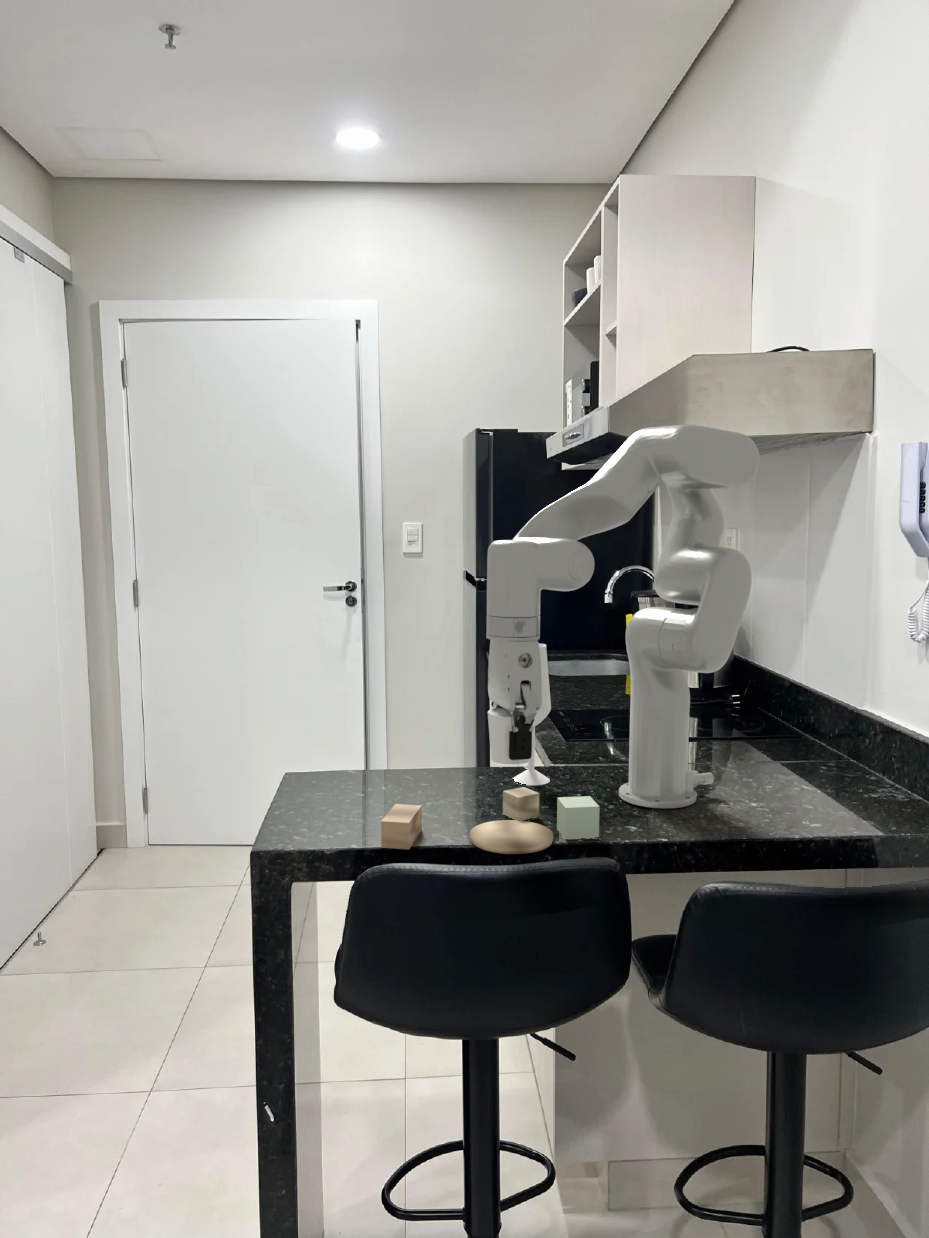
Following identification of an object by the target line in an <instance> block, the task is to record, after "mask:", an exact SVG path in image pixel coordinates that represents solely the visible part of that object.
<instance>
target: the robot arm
mask: <svg viewBox="0 0 929 1238" xmlns="http://www.w3.org/2000/svg"><path fill="white" fill-rule="evenodd" d="M760 458H761V457H760V452H759V448H758V447H757V445H756V443H755V441H753V439H752V438H751V437H749V436H748V435H745V434H744V433H741V432H736V431H731V430H726V429H720V428H715V427H714V428H713V427H710V426H703V425H698V424H697V425H696V424H675V425H662V426H651V427H650V426H649V427H646V428H645V427H644V428H642V429H639V430H637V431H636V432H633V433H632V434H631V435H630V436H629V437H628V438H627V439H626V440H625V441H624V442H623V444H622V445H620V447H619V448H618V449H617V450H616V452H614V453H613V454H612V455H611V457H610V458H609V459H608V460H607V461H606V462H605V463H604V465H603V466H602V467H600V469H599V470H598V471H597V472H596V473H595V474H594V475H593V477H591V478H590V480H589V481H587V482H586V483H585V484H583V485H582V486H579V487H578V488H576V489H574V490H573V491H571V492H569V493H567V494H566V495H564V496H562V497H561V498H559V499H558V500H556V501H554V502H552V503H550V504H549V505H546V507H544V508H543V509H541V510H540V511H538V512H537V514H536V513H535V515H534V516H532V518H530V519H529V520H528V521H527V523H525V525H524V526H522V528H520V530H519V531H518V532H517V533H516V535H515V536H514V537H513V538H512V539H501V540H500V539H499V540H493V542H491V543H490V545H488V547H487V559H486V560H487V561H486V563H487V565H486V567H487V569H486V571H487V573H486V574H487V575H486V634H485V635H486V637H485V638H486V639H487V640H490V642H489V650H488V651H489V653H488V665H487V667H488V668H487V691H488V692H487V693H488V698H489V700H490V701H491V704H490V705H491V708H492V709H495V708H505V709H506V710H508V711H510V717H511V726H512V731H509V758H510V759H511V760H522V759H530V758H531V757H532V731H533V722H534V718H535V716H536V713H537V710H539V709H540V708H541V706H542V679H541V660H540V651H539V644H540V643H539V640H540V637H541V591H542V590H549V591H557V592H570V591H576V590H578V589H580V588H582V587H584V586H585V585H586V584H587V583H588V582H590V580H591V578H592V576H593V574H594V570H595V558H594V555H593V552H592V551H591V550H590V549H589V548H588V547H587V546H586V545H585V544H584V543H582V542H580V541H579V540H581V539H583V538H587V537H590V536H593V535H596V534H600V533H604V532H607V531H610V530H612V529H616V528H617V527H620V526H623V525H625V524H627V523H628V522H629V521H631V519H633V517H634V516H635V515H636V513H637V512H638V511H639V510H640V509H641V507H643V505H644V504H645V503H646V502H647V501H648V499H649V498H650V497H651V496H652V495H653V493H654V492H655V491H656V490H657V489H658V488H659V486H661V485H662V484H663V483H664V484H665V486H666V489H667V492H668V494H669V498H670V501H671V508H672V518H671V522H670V526H669V530H668V532H667V535H666V538H665V541H664V544H663V548H662V550H661V554H660V556H659V558H658V563H657V565H656V570H655V573H654V576H653V577H654V578H653V587H654V591H655V592H656V594H657V596H659V597H660V598H661V599H663V600H664V601H667V602H671V603H676V604H683V605H691V606H698V608H697V610H694V609H693V610H691V609H684V608H677V607H676V608H675V607H667V606H666V607H664V606H649V607H644V608H642V609H640V610H638V611H637V612H635V613H634V614H633V615H632V616H631V618H629V621H628V622H627V625H626V629H625V638H624V639H625V646H626V652H627V658H628V663H629V673H630V674H629V677H630V704H629V706H630V708H629V746H628V747H629V749H628V751H629V752H628V782H625V783H624V784H622V785H620V787H619V788H618V796H619V798H620V799H621V800H623V801H624V802H626V803H628V804H631V805H634V806H635V805H636V806H639V807H642V808H644V807H645V808H651V809H679V808H684V807H688V806H691V805H693V804H694V803H696V802H697V797H698V796H697V795H698V794H697V792H696V790H695V789H694V788H697V786H698V785H701V786H703V785H705V786H706V785H711V784H714V782H715V777H714V775H713V773H712V772H711V771H710V772H702V773H701V772H700V773H699V772H698V770H690V769H689V743H690V742H689V737H690V735H689V734H690V733H689V732H690V707H691V693H690V687H689V683H688V680H687V678H686V675H685V674H684V671H688V672H693V673H700V674H701V673H702V674H711V673H715V672H718V671H719V670H720V669H722V667H724V666H725V664H726V663H727V662H728V660H729V657H730V656H731V654H732V652H733V649H734V646H735V642H736V640H737V636H738V633H739V630H740V627H741V624H742V620H743V617H744V614H745V610H746V608H747V605H748V601H749V598H750V594H751V589H752V579H753V578H752V577H753V576H752V569H751V565H750V562H749V561H748V558H747V557H746V556H745V555H744V554H743V553H742V552H740V551H739V550H738V549H735V548H730V547H722V546H720V543H721V540H722V536H723V533H724V527H725V519H724V515H723V512H722V510H721V507H720V505H719V503H718V501H717V499H716V497H715V495H714V493H713V491H712V489H714V490H715V489H717V490H718V489H719V490H720V489H740V488H742V487H745V486H747V485H748V484H750V483H751V482H752V481H753V479H755V478H756V475H758V471H759V468H760V461H761V459H760ZM538 643H539V644H538ZM520 705H523V706H524V708H522V709H515V708H516V707H515V706H520ZM517 714H523V715H521V716H520V717H519V719H518V721H517Z"/></svg>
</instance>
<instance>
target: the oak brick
mask: <svg viewBox="0 0 929 1238" xmlns="http://www.w3.org/2000/svg"><path fill="white" fill-rule="evenodd" d="M422 811H423V806H422V804H421V805H419V804H417V805H416V804H401V803H395V804H394V805H393V806H392V807H391V808H390V810H389V811H388V812H387V813H386V814H385V816H384V817H383V818H382V819H381V821H380V846H381V847H380V848H385V849H397V850H410V849H411V847H412V846H413V844H414V843H413V842H415V841H416V840H417V838H418V837H419V835H420V834H421V832H422V831H421V830H422V829H423V828H422V827H423V826H422V825H423V824H422V823H423V822H422V821H423V820H422V819H423V816H422V814H423V813H422ZM419 833H420V834H419ZM417 836H418V837H417Z"/></svg>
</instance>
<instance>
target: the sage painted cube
mask: <svg viewBox="0 0 929 1238" xmlns="http://www.w3.org/2000/svg"><path fill="white" fill-rule="evenodd" d="M556 802H557V803H556V805H557V806H556V808H557V809H556V830H557V832H558V831H559V832H560V833H561V835H562V836H563V837H564V839H581V838H595V837H599V838H600V805H599V804H598V803H597V802H596V801H595V800H594V799H593V797H591V795H587V796H586V795H584V796H563V797H561V796H560V797H557V799H556ZM559 832H558V833H559ZM560 833H559V834H560ZM561 835H560V836H561ZM562 836H561V837H562ZM563 837H562V838H563ZM564 839H563V840H564Z"/></svg>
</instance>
